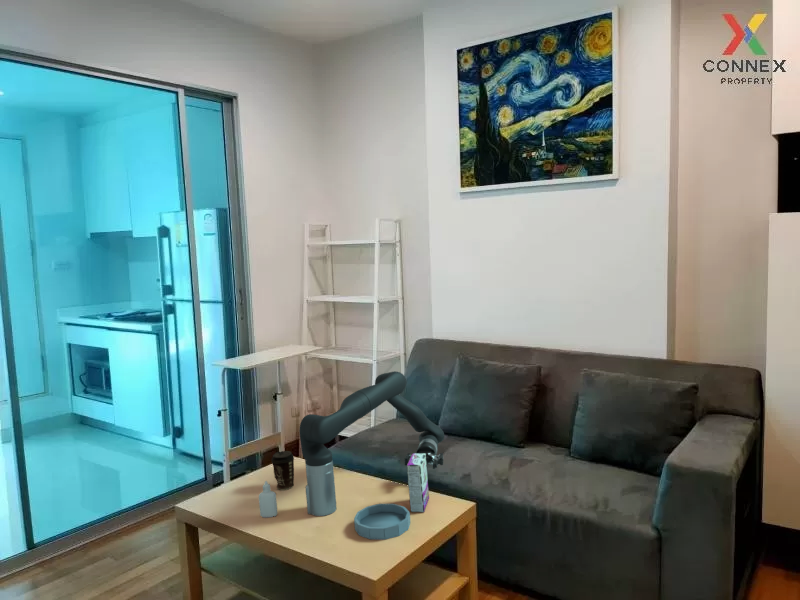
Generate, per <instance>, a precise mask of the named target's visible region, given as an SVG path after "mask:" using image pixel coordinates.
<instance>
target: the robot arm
mask: <svg viewBox="0 0 800 600" xmlns="http://www.w3.org/2000/svg"><path fill="white" fill-rule="evenodd" d="M406 387H407V378H406V376H405V375H404V374H403V373H402V372H400V371H390V372H389V371H388V372H384V373H381V374H378V375H377V377H376V378H375V380H374V384H373V385H369V386H366V387H363V388H361V389H358V390H356V391H354V392H353V393H351V394H349V395H348V396H346V397H345V398H344V399H343V400H342V402H341V405H340V407H339V409H338V410H337V411H335V412H333V413H331V414H329V415H318V414H311V413H309V414H306V415H305V416H303V417H302V419H301V421H300V424H299V431H298V432H299V439H300V447H301V448H300V449H301V454H302V456H303V458H304V462H305V474H306V484H307V485H305V496H306V497H305V499H306V508H307V514H308V515H312V516H316V517H323V516H328V515H331V514H333V513H335V512H336V510H337V498H336V497H337V496H336V485H335V484H336V483H335V473H334V472H335V471H334V461H333V453H332V451H331V450H330V449H329V448H327V447H326V446H325V444H328V443H329V442H331V441H333V440H334V439H335V438H336V437H337V436H338V435H339V434H340V433H342V432H343V431H344V430H346V429H347V428H348V427H349V426H351V425H352V424H354V423H355V422H357V421H358V420H360V419H361V418H364V417H365V416H367V415H368V414H369V413H371V412H372V411H373V410H375V409H376V408H378V407H380V406H381V405H383V403H384V402H388V403H389V404H390V406H392V407H393V408H395V410H397V411H398V412H399V413H400V414H401V415H402V416H403V417H404V419H405V420H406V421H407V422H408V424H409V425H411V426H410V427H412V428H413V429H414V431H416V432H417V433H420V434H419V436H418V440H419V445H418V446H417V449H416V452H415V453H425V454H426V465H430V466H432V469H433V470H435V469H436V468H438V466H443V465H444V453H443V452H440V453H439V454H438V446H439V444H440V443H442V442H443V441H444V440H445V433H444V430H443V428H441V427H440V426H439V425H437V424H436V423H435V422H433V421H431V420H430V419H429V418H428V417H427V416H426V414H425V413H424V412H423V410H422V409H420V407H419V406H417V405H416V404H414V403H412V402H411V401H409V400H408V399H406V398H405V397H403V396H402V395H401V394H402V393H403V392H404V391H405V389H406ZM437 454H438V455H437ZM411 456H412V454H411V453H409V452H408V453H407V454H405V457H404V460H403V461H404V466H407V464H408V462H409V460H410V458H411Z"/></svg>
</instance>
